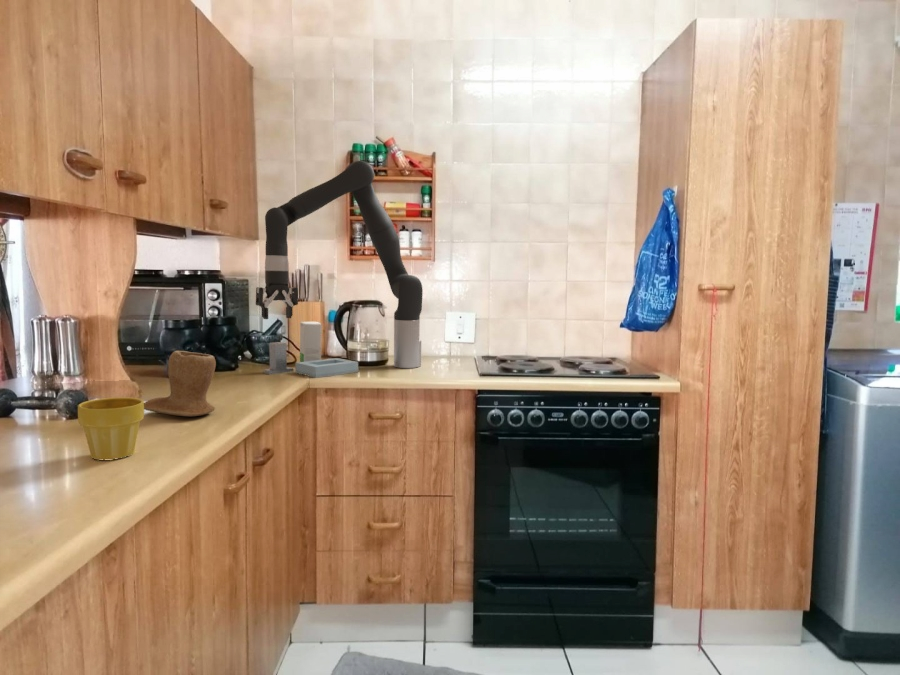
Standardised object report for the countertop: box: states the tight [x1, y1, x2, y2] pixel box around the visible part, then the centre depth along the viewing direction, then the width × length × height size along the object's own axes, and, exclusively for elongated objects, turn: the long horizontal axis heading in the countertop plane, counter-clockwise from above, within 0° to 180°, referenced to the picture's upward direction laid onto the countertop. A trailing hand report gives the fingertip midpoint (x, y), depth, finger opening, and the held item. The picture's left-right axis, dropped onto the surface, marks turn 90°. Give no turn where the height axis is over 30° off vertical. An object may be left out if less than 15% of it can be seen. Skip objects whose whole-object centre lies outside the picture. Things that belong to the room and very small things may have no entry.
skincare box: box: [299, 320, 323, 362], centre depth 213 cm, size 8×7×16 cm
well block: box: [294, 357, 359, 379], centre depth 196 cm, size 17×12×4 cm
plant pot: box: [77, 396, 145, 460], centre depth 105 cm, size 10×10×10 cm
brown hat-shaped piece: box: [144, 350, 217, 417], centre depth 136 cm, size 15×12×15 cm
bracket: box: [262, 341, 294, 376], centre depth 195 cm, size 9×4×10 cm, turn 137°
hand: (277, 318), depth 193 cm, fingers open, 8 cm apart
